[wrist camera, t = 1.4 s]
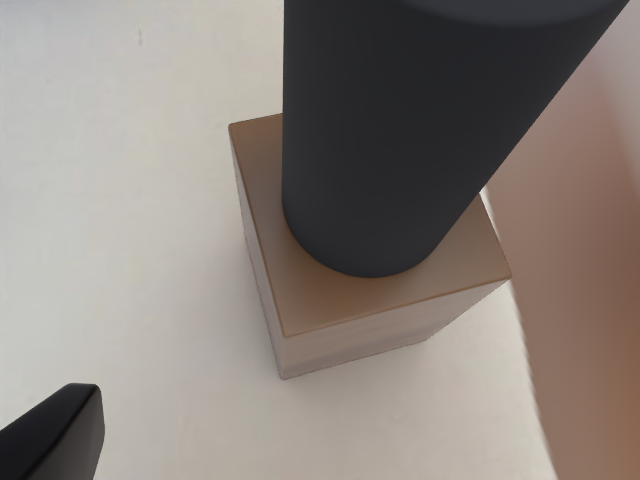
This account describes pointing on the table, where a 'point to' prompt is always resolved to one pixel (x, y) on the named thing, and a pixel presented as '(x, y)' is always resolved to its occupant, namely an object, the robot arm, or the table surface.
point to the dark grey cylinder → (412, 113)
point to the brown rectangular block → (345, 290)
